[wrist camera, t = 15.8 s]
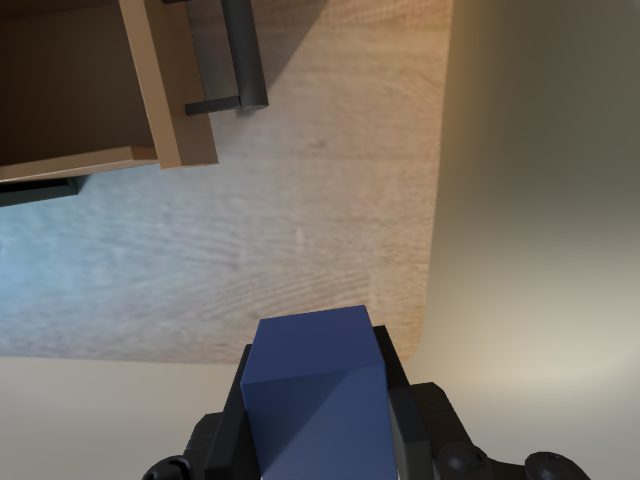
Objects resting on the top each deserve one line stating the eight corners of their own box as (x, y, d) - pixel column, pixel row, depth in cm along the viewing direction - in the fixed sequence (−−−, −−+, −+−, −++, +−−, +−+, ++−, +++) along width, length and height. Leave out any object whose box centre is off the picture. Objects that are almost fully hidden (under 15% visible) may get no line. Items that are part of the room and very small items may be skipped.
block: (376, 396, 17) (398, 482, 13) (277, 409, 17) (265, 500, 13) (365, 304, 16) (385, 363, 12) (259, 318, 16) (239, 383, 12)
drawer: (250, -38, 24) (222, -126, 17) (283, 153, 27) (272, 152, 20) (-50, 12, 25) (-211, -52, 17) (13, 196, 27) (-102, 211, 20)
